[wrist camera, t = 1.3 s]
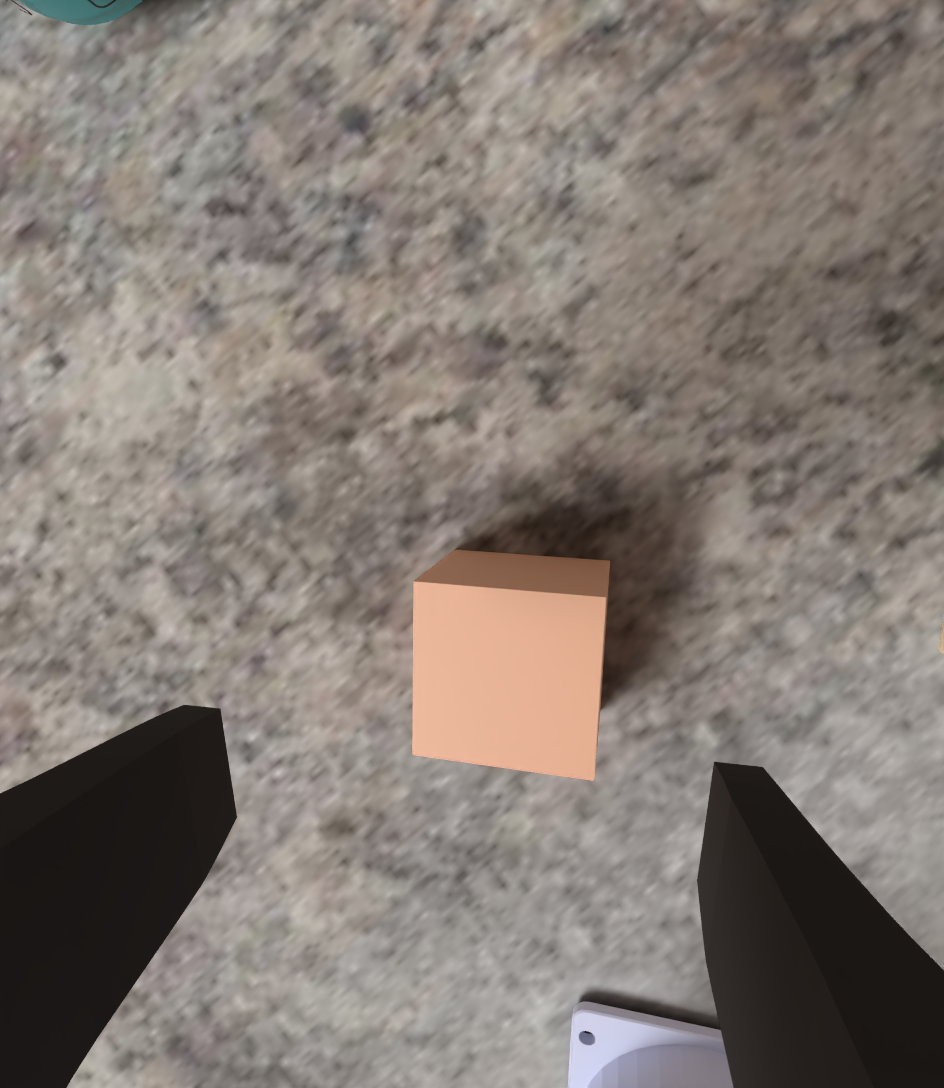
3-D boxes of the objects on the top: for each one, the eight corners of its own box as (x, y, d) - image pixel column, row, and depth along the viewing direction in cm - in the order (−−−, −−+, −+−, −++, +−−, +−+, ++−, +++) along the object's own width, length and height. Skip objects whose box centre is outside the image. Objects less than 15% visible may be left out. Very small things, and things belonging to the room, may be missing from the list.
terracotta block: (600, 708, 19) (594, 781, 15) (452, 690, 20) (412, 754, 16) (610, 559, 18) (606, 597, 15) (455, 549, 19) (413, 581, 16)
